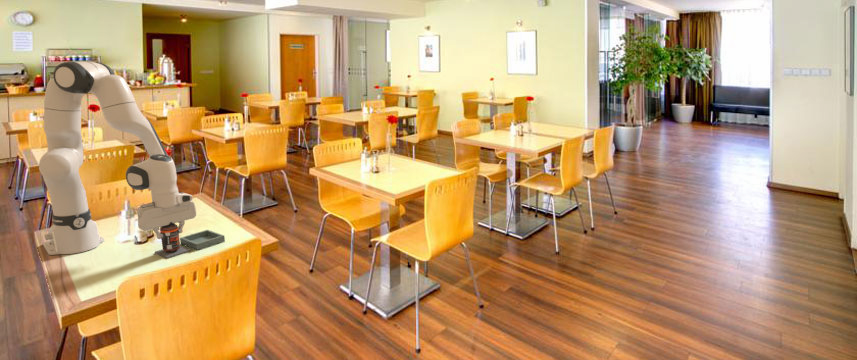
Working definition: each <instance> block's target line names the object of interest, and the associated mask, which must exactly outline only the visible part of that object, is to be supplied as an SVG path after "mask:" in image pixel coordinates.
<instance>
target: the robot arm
mask: <svg viewBox="0 0 857 360" xmlns="http://www.w3.org/2000/svg"><path fill="white" fill-rule="evenodd" d="M52 76H53V77H52V78H51V79H49V81H48V82H47V84H46V88H45V94H44V100H43V109H44V110H43V130H44V133H45V137H46V143H47V144H46V145H47V152H45V153H44V154H43V155H41V157H40V159H39V163H38V170H39V172H40V174H41V175H42V178H43V181H44V184H45V186H46V188H47V191H48V194H49V198H50V203H51V209H52V215H51V216H52V217H51V220H52V225H51V226H50V228H49V229H48V231H47V233H45V234H44V239H45V240H46V241H44V242H42V245H43V248H44V249H45V251H46V253H47V254H48V255H49V256H53V255H54V256H55V255H72V254H79V253H83V252H87V251H89V250H92V249H95V248H97V247H98V246H99V245H100V244H101V243H103V242H105V238H104V237H102V236H100V233H99V229H98V223H97V222H96V221H94V220H93V219H92V212H91V210H90V208H89V204H88V199H87V191H86V189H85V187H84V185H83V182H82V179H81V175H80V171H79V170H80V168H81V167H82V165H83V163H84V146H83V144H84V143H83V138H82V137H83V135H82V100H83V97H84V96H85V95H87V94H90V95H91V94H92V95H93V96H95V97H96V98H97V100H98V103H99V107H100V108H101V112H102V114H103V117H104V119H105V121H106V123H107V124H108V125H109V126H110V127H111V128H113V129H114V130H116V131H120V132H123V133H129V134H131V135H134V136H136V137H137V138H139V140H140V141H141V142H142V144H143V146H144V148H145V150H146V151H147V152H146V153H147V155H148V156H149V157H147V159H145V160H143V161H142V162H138V163H135V164H133V165H130V166H129V167H128V168H127V169H126V171H125V180H126V183H127V184H128V186H129V187H130V188H131V189H133V190H135V191H143V190H148V189H149V190H150V194H151V195H150V196H151V202H148V203H143V204H140V206H138V207H137V209H136V215H137V227H138V228H139V229H140V230H141V231H145V232H147V231H150V230H152V231H153V232H154V233H155V234H156V238H157V239H158V240H161V238H163V233H160V228H161V227H162V226H166V225H169V224H170V223H171V222H172V223H175V224H176V223H178V225H177V226H178V232H179V234H181V233H183V228H184V226H185V221H188V220H193V219H195V218H196V217H197V210H196V208H197V207H196V205H195V202H194V201H193V199H194V198H193V197H194V196H193V195H192V194H189V193H186V192H181V191H179V188H178V185H177V180H178V175H177V166H176V165H175V162H174V160H173V158H172V156H170V155H169V154H168V153H167V151H166V149H165V147H164V145H163V143H162V141H161V139H160V137H159V134H158V133H157V130H156V129H155V127H154V125H153V123H152V122H151V121H150V120H149V119H148V118H146V117H145V116H144V115H143V113H142V112H141V110H140V108H139V106H138V105H137V102H136V99H135V96H134V93H133V91H132V90H131V87H130V86H129V84H128V83H127V80H126V79H125V78H124V77H123V76H121V75H118V74H116V73H115V72H114V70H113V68H111V67H110V66H109V65H106V64H104V63H102V62H99V61H97V62H96V61H88V60H87V61H86V60H83V61H70V60H69V61H66V62H65V61H64V62H62V63H59V64H58V65H57V66H55V68H54V70H53V74H52Z"/></svg>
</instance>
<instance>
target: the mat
mask: <svg viewBox="0 0 857 360" xmlns="http://www.w3.org/2000/svg"><path fill="white" fill-rule="evenodd" d="M190 252H192V248H189V247H187V246H184V245H183V246H182V244H180V248H179V249H178V250H175V251H170V252H168V251H164V250H163V248H162V249H158V250H155V251H154V254H156V255H158V256H161V257H163V258H165V259H167V260H169V259H171V258H173V257H178V256H180V255H183V254H186V253H187V254H188V253H190Z"/></svg>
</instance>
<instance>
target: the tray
mask: <svg viewBox="0 0 857 360" xmlns="http://www.w3.org/2000/svg"><path fill="white" fill-rule="evenodd" d="M225 239H226V238H225V235H223V234H221V233H218V232H215V231H213V230H209V229H206V230H202V231H199V232H195V233H191V234H189V235H185V236H180V237H179V240H180V245H181V246H182V245H183V246H184V247H186V248H189V249H191V250H192V249H193V250H195V251H200V250H203V249H207V248H209V247H212V246H216V245H219V244H221V243H224V242H225V241H226V240H225Z"/></svg>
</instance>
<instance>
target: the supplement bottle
mask: <svg viewBox="0 0 857 360" xmlns="http://www.w3.org/2000/svg"><path fill="white" fill-rule="evenodd" d="M178 226H179V225H178V224H176V223H172V222H171V223H170V224H169V225H166V226H162V227H159V233H163V238H161V239H160V240H161V246H162V249H163V250H164V251H168V252H170V251H175V250H178V249H179V248H180V245H181V242H180V233H179V232H178Z"/></svg>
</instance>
